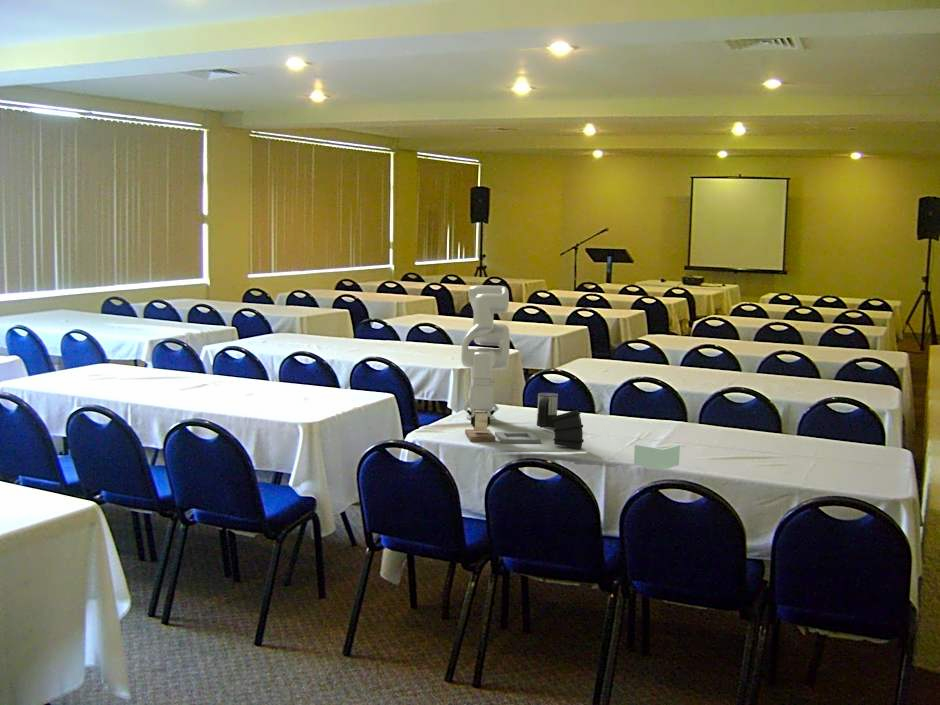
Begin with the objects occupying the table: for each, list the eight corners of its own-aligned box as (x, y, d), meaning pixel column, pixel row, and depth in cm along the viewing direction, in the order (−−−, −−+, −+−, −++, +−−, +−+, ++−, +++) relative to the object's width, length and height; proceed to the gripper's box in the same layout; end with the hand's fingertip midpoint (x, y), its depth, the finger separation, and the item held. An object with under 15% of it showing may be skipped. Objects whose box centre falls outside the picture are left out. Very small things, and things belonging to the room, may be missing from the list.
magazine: (587, 447, 395) (576, 410, 395) (557, 455, 400) (546, 419, 401) (590, 445, 398) (579, 409, 399) (560, 453, 404) (549, 417, 404)
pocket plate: (494, 435, 421) (494, 431, 421) (532, 435, 423) (532, 431, 423) (501, 443, 405) (501, 439, 405) (540, 443, 407) (540, 439, 407)
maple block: (473, 428, 416) (473, 411, 416) (485, 428, 417) (485, 411, 416) (475, 430, 411) (475, 413, 411) (487, 430, 412) (487, 413, 411)
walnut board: (465, 434, 422) (465, 429, 422) (488, 434, 423) (488, 429, 423) (470, 441, 406) (470, 436, 406) (495, 441, 408) (495, 436, 407)
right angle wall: (678, 465, 376) (679, 445, 375) (662, 470, 367) (663, 449, 366) (650, 459, 384) (651, 440, 383) (633, 464, 374) (634, 444, 374)
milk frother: (535, 425, 447) (537, 392, 445) (571, 426, 446) (573, 393, 445) (536, 431, 433) (537, 397, 431) (573, 432, 432) (574, 398, 431)
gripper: (500, 381, 417) (499, 424, 419) (459, 380, 415) (458, 424, 417) (503, 383, 410) (502, 428, 412) (462, 383, 407) (460, 428, 409)
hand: (480, 425), depth 414 cm, fingers closed on maple block, 5 cm apart
